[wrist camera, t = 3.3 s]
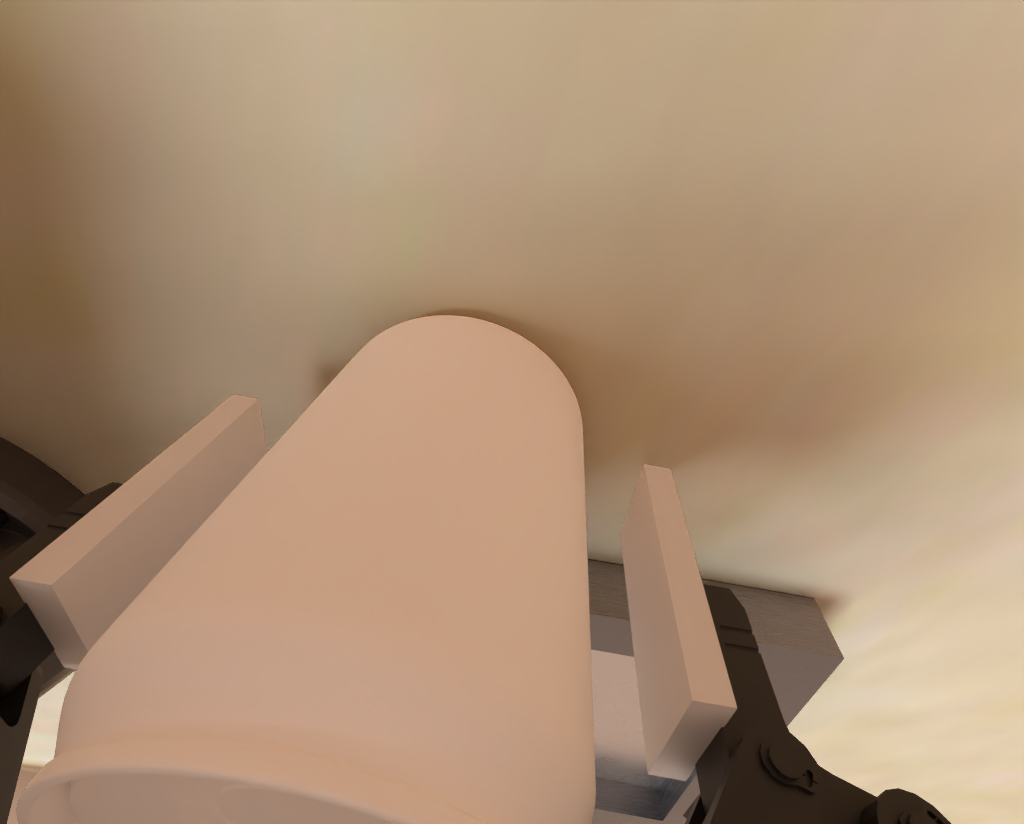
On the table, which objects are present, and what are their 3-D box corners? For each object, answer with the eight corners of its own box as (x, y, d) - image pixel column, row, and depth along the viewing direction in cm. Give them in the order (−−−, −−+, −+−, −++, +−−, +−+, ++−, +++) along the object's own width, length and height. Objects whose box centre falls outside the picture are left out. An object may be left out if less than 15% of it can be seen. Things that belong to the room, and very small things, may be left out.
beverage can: (625, 364, 15) (740, 891, 5) (530, 536, 19) (483, 1014, 9) (372, 265, 14) (-130, 644, 4) (330, 467, 18) (30, 904, 8)
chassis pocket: (390, 735, 29) (376, 785, 26) (390, 525, 20) (368, 575, 18) (680, 788, 28) (689, 843, 26) (814, 598, 19) (844, 658, 17)
